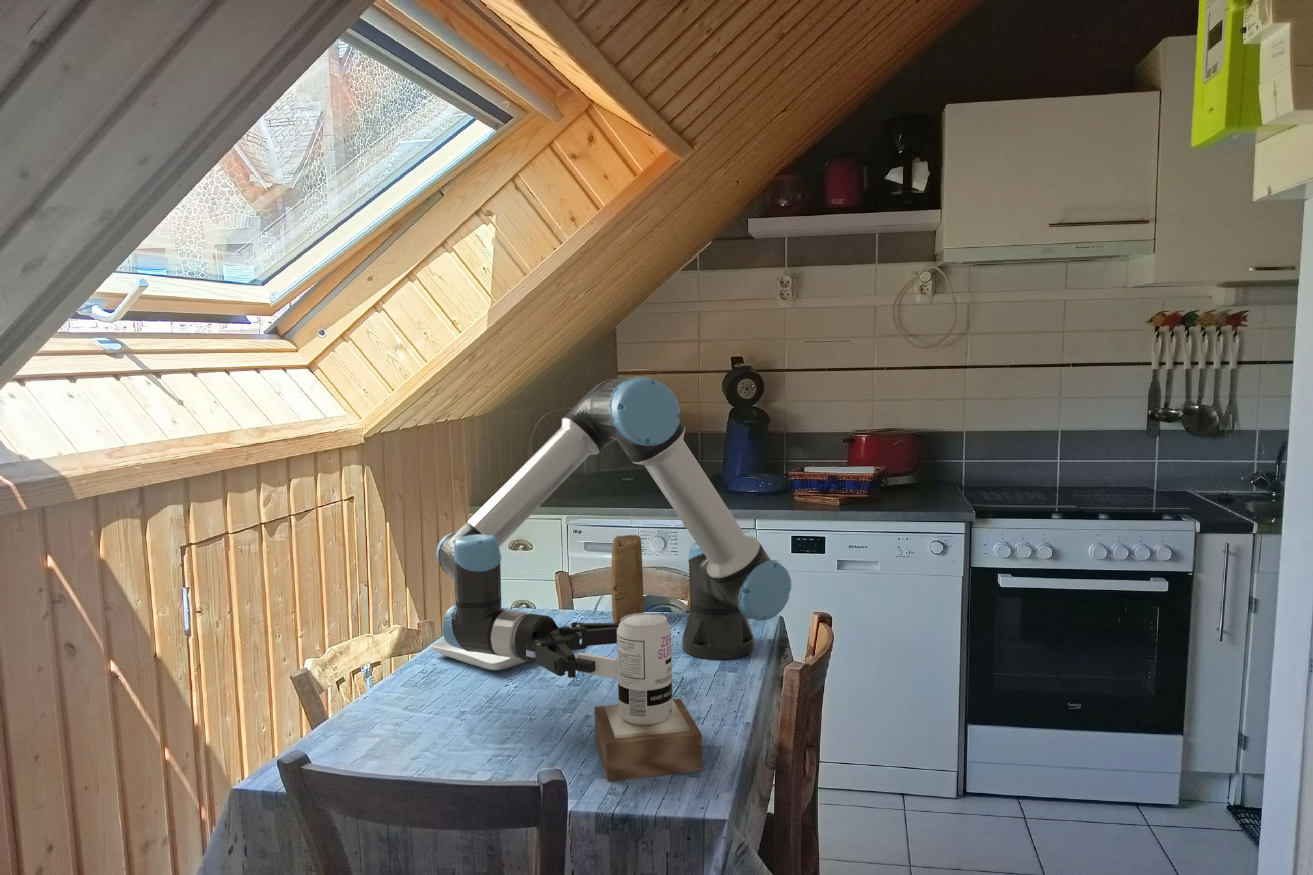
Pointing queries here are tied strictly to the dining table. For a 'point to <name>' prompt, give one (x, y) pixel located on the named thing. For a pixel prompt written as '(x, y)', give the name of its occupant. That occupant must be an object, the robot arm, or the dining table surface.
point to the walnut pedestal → (647, 744)
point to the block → (627, 577)
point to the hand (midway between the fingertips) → (639, 654)
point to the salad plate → (475, 657)
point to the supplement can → (644, 668)
